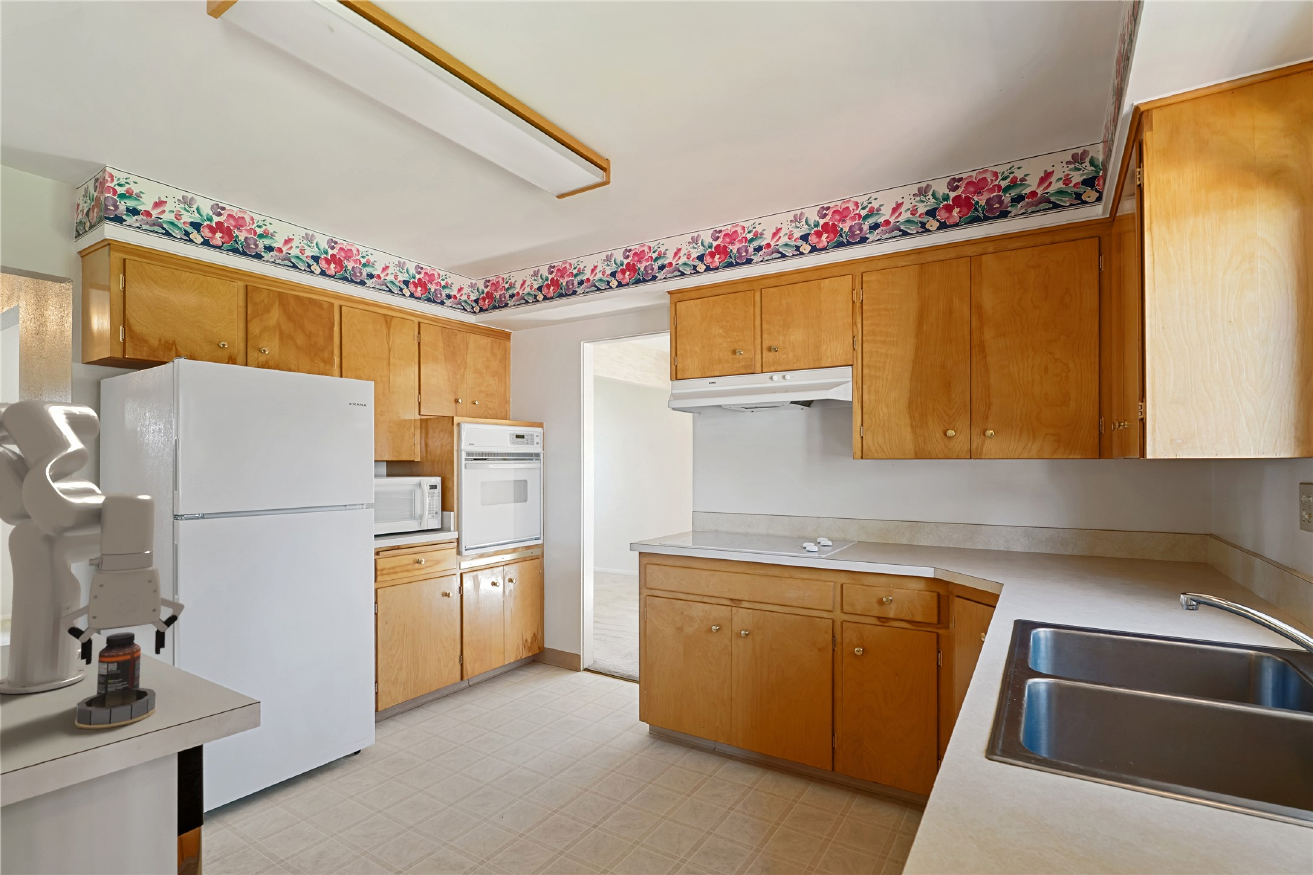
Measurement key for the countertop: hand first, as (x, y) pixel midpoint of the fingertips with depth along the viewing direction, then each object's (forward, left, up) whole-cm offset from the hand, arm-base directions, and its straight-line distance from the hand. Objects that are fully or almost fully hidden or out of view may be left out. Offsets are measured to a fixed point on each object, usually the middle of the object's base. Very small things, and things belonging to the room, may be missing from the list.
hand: (123, 657), depth 117 cm
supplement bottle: (-1, -1, -8) cm, 8 cm away
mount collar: (+9, +3, -7) cm, 12 cm away
